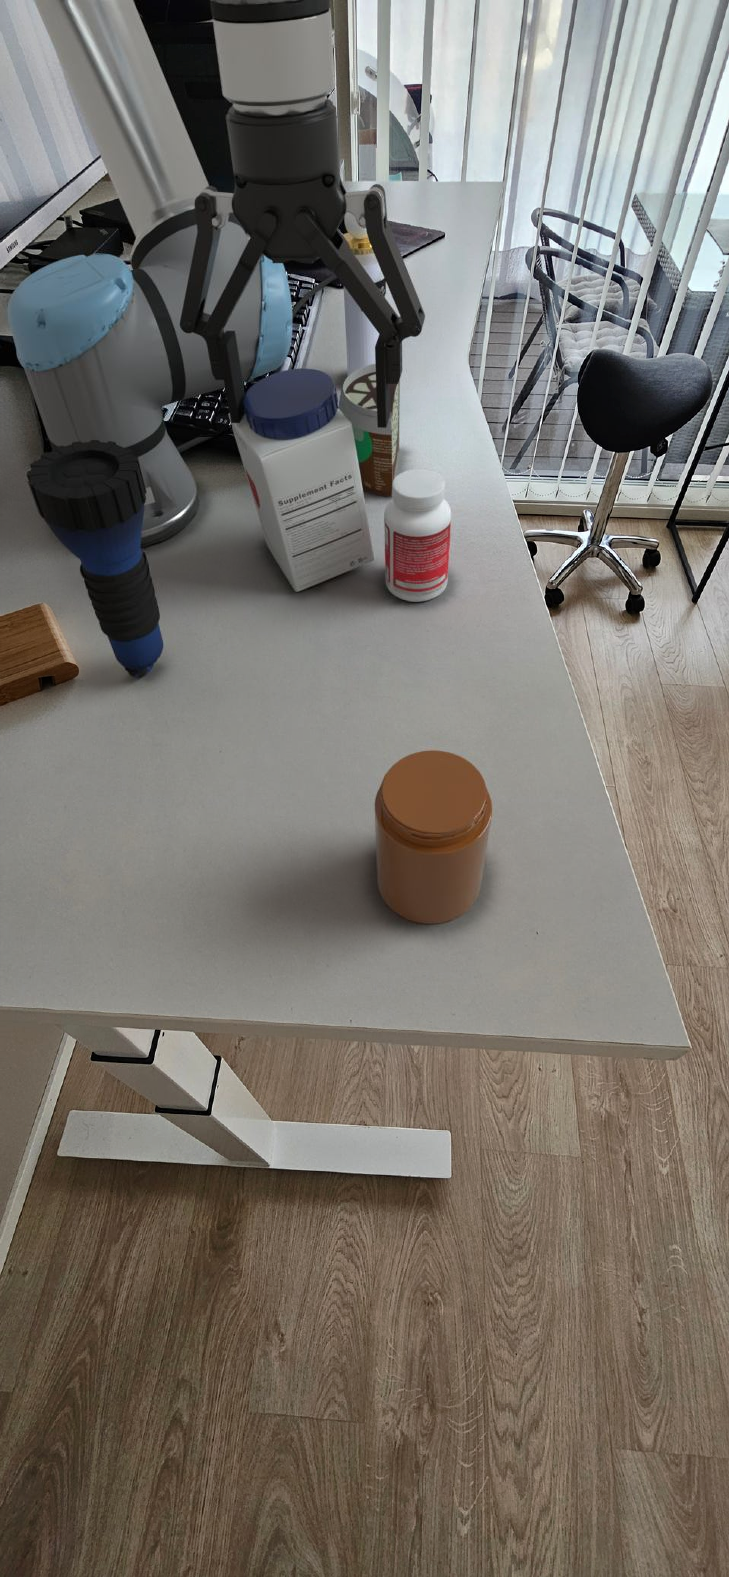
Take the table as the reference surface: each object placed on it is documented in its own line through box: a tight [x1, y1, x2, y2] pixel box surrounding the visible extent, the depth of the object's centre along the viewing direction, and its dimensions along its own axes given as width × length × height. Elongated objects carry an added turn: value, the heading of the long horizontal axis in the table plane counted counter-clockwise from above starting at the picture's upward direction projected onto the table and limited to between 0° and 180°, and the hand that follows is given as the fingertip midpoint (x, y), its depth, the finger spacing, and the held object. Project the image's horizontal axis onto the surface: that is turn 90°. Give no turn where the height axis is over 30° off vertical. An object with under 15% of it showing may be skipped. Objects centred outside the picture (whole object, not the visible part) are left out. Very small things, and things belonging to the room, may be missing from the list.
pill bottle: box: [383, 468, 452, 603], centre depth 76 cm, size 6×6×11 cm
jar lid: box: [244, 367, 339, 439], centre depth 71 cm, size 8×8×2 cm
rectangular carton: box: [228, 409, 375, 593], centre depth 77 cm, size 9×9×15 cm
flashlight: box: [26, 440, 164, 679], centre depth 66 cm, size 8×8×20 cm
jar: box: [374, 750, 493, 925], centre depth 55 cm, size 8×8×11 cm
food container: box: [338, 364, 401, 498], centre depth 89 cm, size 12×6×10 cm, turn 174°
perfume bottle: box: [342, 212, 387, 377], centre depth 99 cm, size 6×6×20 cm
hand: (310, 418), depth 71 cm, fingers open, 12 cm apart
